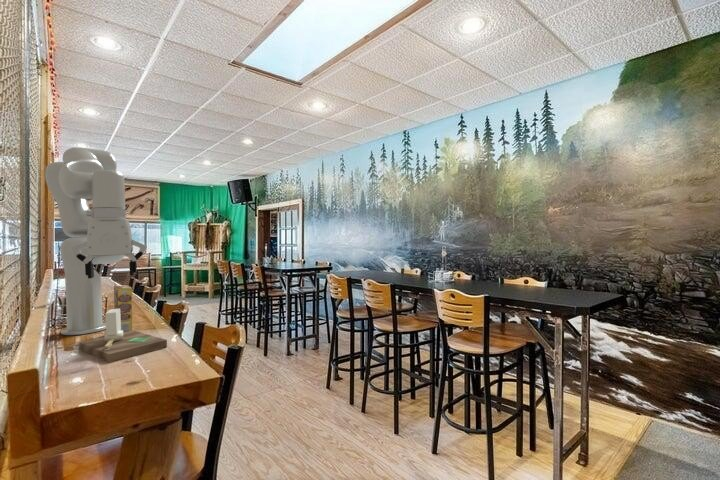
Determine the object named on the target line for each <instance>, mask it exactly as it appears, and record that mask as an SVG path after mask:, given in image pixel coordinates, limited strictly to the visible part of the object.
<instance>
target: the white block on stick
mask: <svg viewBox="0 0 720 480" xmlns="http://www.w3.org/2000/svg"><path fill="white" fill-rule="evenodd" d="M105 323H106V329H105V332H104V334H103V337H104V340H105V341H106V342H108V343H107V344H106V345H105V348H109V346H110V345H111V344H112V343H113V341H117V340H121V339H123V330H121V315H120V308H119V309H114V308H112V309H111V308H110V309H109V310H108V311H107V312H105Z"/></svg>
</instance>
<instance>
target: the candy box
mask: <svg viewBox="0 0 720 480" xmlns="http://www.w3.org/2000/svg"><path fill="white" fill-rule="evenodd" d="M113 295H114V297H113V303H114V305H113V306H114V308H113V309H119V308H120V315H121V330H123V333H125V332H129V331H133V287H131V286H130V285H127V284H123V285H115V286H114V287H113Z"/></svg>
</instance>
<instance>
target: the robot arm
mask: <svg viewBox="0 0 720 480" xmlns="http://www.w3.org/2000/svg"><path fill="white" fill-rule="evenodd" d="M44 175H45V182H46V185H47V188H48V190H49V192H50V194H51V195H52V198H54V200H55V202H56V204H57V208H58V214H59V219H60V225H61V228H62V231H63V234H65V236H67V237H68V238H67V239H64V240H63V241H62V242H61V244H60V256H61V260H62V265H63V271H64V281H65V282H64V283H65V304H66V305H65V306H66V308H65V309H66V327H65V328H62V329H61V330H60V334H61V335H63V336H79V335H86V334H92V333H96V332H101V331H104V330H106V322H103V304H102V303H103V302H102V301H103V300H102V278H101V276H100V273H99V272H98V271H96V269H94V268H95V267H94V265H102V264H115V263H119V262H121V261H122V260H123V259H124V257H125V256H126V257H128V258H129V260H130V261H129V275H130V276H131V277H132V276H135V273H137V272H138V271H137V269H138V268H137V261H138V260H139V259H140V258H141V257H143V255H144V254H145V252H146V250H147V248H148V246H147V245H146V244H143V243H141V242H138V241H136V240H134V239H133V236H132V229H131V225H130V221H129V220H128V219H127V216H126V214H127V213H126V192H125V191H126V190H125V189H126V188H125V186H126V185H125V176H124V174H123V173H122V172H120V171H118V170H117V160H116V158H115V156H114V155H113V153H111V152H109V151H107V150H102V149H101V150H100V149H93V148H87V147H86V148H85V147H77V146H76V147H71V148H68V149H66V150H65V151H64V152H63V153H62V161H54V162H50V163H49V164H48V165H46V167H45V170H44ZM88 200H92V208H91V209H90V205H89V202H88ZM134 246H135V247H137V248H138V249H139V251H138V252H137V253H136V254H134V253H133V250H134V248H133V247H134Z"/></svg>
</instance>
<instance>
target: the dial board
mask: <svg viewBox="0 0 720 480" xmlns="http://www.w3.org/2000/svg"><path fill="white" fill-rule="evenodd" d="M167 342H168V341H167V339H165V338H162V337H158V336H155V335H151V334H147V333H144V332H141V331H137V330H132V331H129V332H125V333H123V339H121V340H117V341H113V343H112V344H111V345H110V346H109V348H105V345H106V344H107V343H108V342H106V341H105V340H104V336H101V337H97V338H92V339H88V340H82V341H79V342H78V343H79V344H78V348H79V350H80V351H82V352H85V353H86V354H89V355H91V356H94V357H96V358H99V359H100V360H103V361H105V362H108V363H113V362H115V361H119V360H123V359H127V358H130V357H135V356H137V355H143V354H146V353H149V352H153V351H156V350H160V349H165V348H167V347H168V343H167ZM164 347H165V348H164Z"/></svg>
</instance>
